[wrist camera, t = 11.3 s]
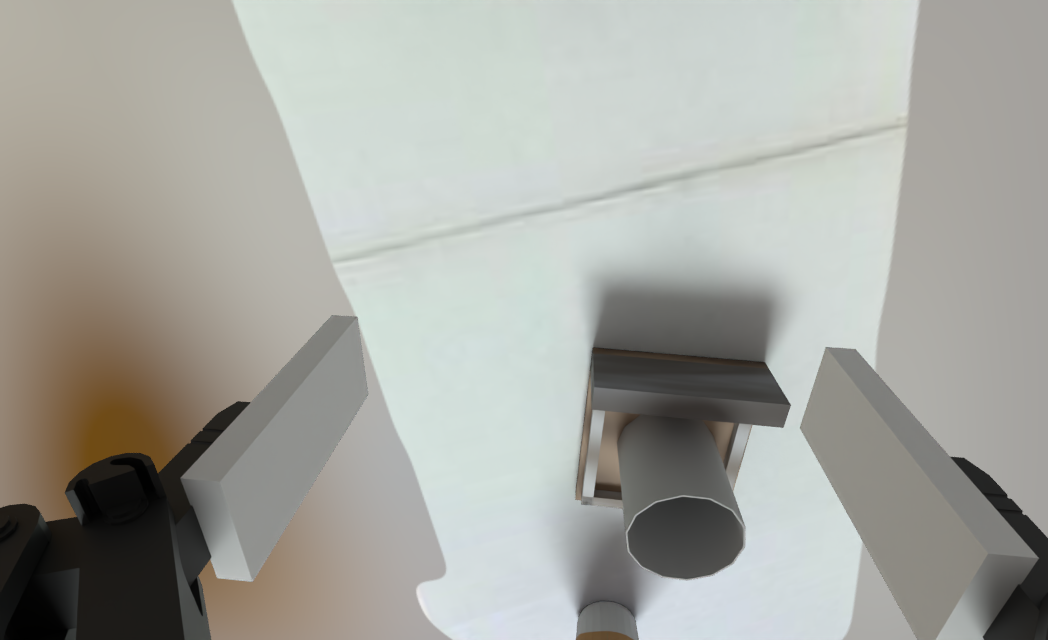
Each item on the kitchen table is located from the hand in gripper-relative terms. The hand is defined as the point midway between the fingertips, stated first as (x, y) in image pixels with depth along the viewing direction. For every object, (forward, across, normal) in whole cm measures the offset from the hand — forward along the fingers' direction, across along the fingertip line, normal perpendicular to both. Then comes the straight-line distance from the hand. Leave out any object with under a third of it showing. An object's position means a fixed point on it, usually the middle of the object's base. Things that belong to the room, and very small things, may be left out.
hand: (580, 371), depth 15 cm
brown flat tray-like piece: (+26, +8, -22) cm, 35 cm away
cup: (+25, +9, -23) cm, 35 cm away
